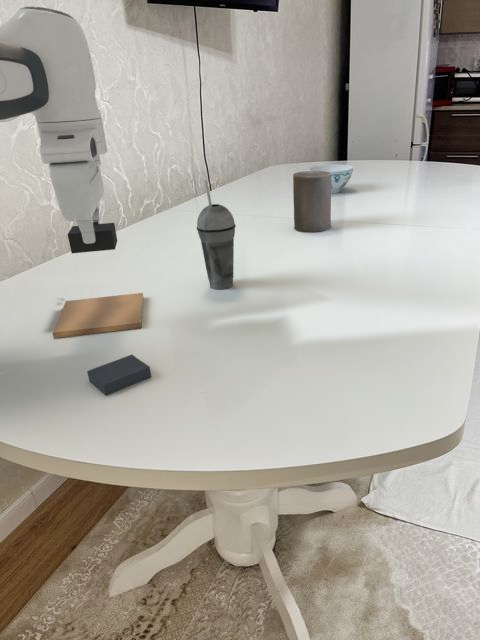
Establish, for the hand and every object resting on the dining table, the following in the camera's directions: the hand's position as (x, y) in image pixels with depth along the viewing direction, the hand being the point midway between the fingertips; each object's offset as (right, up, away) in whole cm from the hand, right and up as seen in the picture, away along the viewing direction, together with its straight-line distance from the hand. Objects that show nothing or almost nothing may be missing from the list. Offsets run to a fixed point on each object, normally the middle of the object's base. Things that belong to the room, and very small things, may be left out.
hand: (92, 237), depth 82 cm
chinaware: (+50, +36, +97) cm, 115 cm away
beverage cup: (+18, -5, +21) cm, 28 cm away
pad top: (+8, -23, -12) cm, 27 cm away
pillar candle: (+40, +14, +56) cm, 70 cm away
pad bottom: (0, -1, +1) cm, 2 cm away
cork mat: (-2, -12, +10) cm, 15 cm away
